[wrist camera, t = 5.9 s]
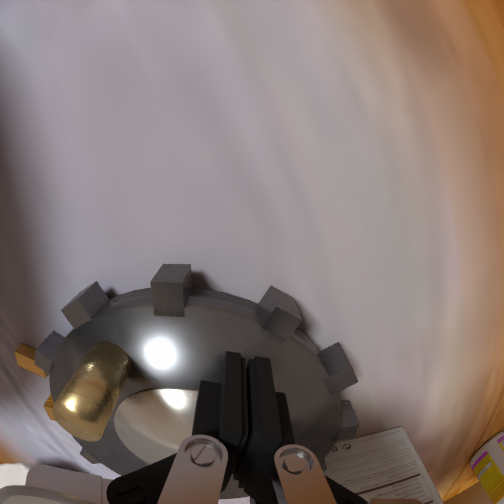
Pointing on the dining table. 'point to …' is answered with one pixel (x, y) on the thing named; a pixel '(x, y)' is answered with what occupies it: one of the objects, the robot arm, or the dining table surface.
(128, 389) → the sprocket disc
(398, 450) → the supplement box
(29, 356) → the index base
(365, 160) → the dining table surface
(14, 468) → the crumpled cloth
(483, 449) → the supplement bottle
